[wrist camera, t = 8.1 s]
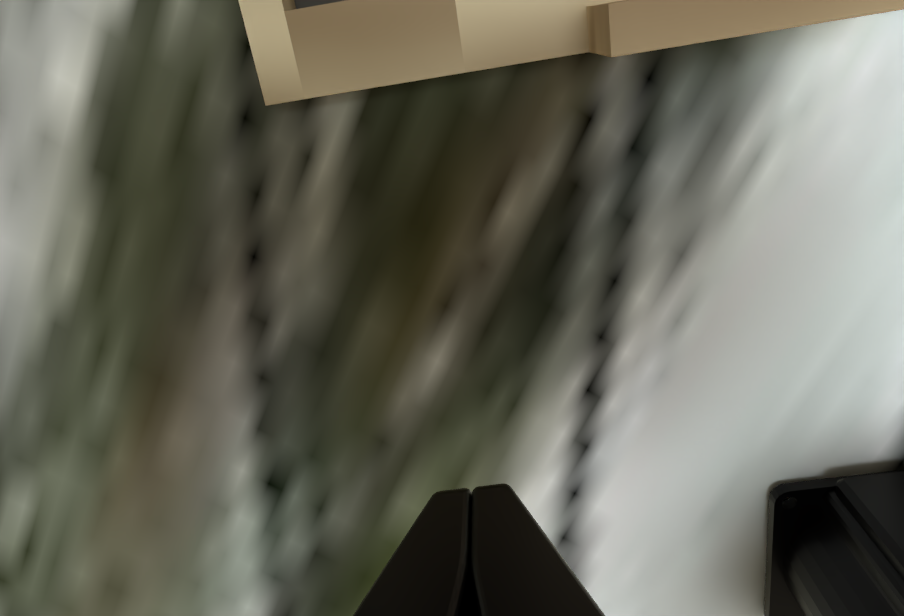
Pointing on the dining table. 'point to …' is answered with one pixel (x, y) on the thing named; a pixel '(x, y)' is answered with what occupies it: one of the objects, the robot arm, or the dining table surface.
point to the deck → (489, 34)
